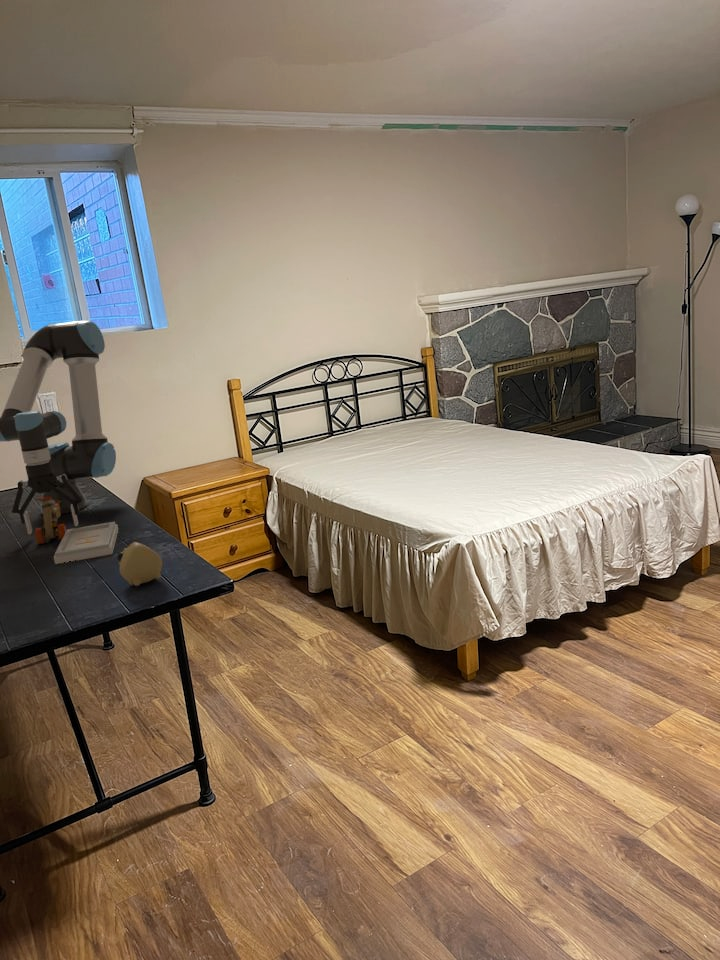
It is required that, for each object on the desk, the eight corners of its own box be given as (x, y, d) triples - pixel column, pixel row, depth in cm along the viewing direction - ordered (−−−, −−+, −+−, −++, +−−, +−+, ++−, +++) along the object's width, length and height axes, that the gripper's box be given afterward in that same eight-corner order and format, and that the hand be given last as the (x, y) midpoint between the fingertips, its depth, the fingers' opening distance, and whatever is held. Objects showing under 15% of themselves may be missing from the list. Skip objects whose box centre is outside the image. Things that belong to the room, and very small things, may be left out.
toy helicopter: (36, 547, 208) (26, 503, 205) (46, 528, 227) (37, 487, 224) (66, 542, 210) (56, 498, 207) (73, 523, 229) (64, 483, 226)
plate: (67, 539, 213) (65, 529, 212) (118, 530, 216) (116, 521, 215) (55, 564, 191) (52, 554, 190) (112, 553, 194) (110, 543, 193)
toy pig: (154, 570, 178) (147, 530, 175) (171, 583, 168) (163, 541, 165) (116, 582, 172) (107, 541, 170) (130, 596, 163) (121, 553, 160)
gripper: (-10, 471, 206) (7, 539, 211) (79, 458, 211) (94, 525, 216) (-3, 466, 213) (13, 532, 218) (83, 453, 218) (96, 518, 223)
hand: (53, 529), depth 217 cm, fingers open, 13 cm apart
